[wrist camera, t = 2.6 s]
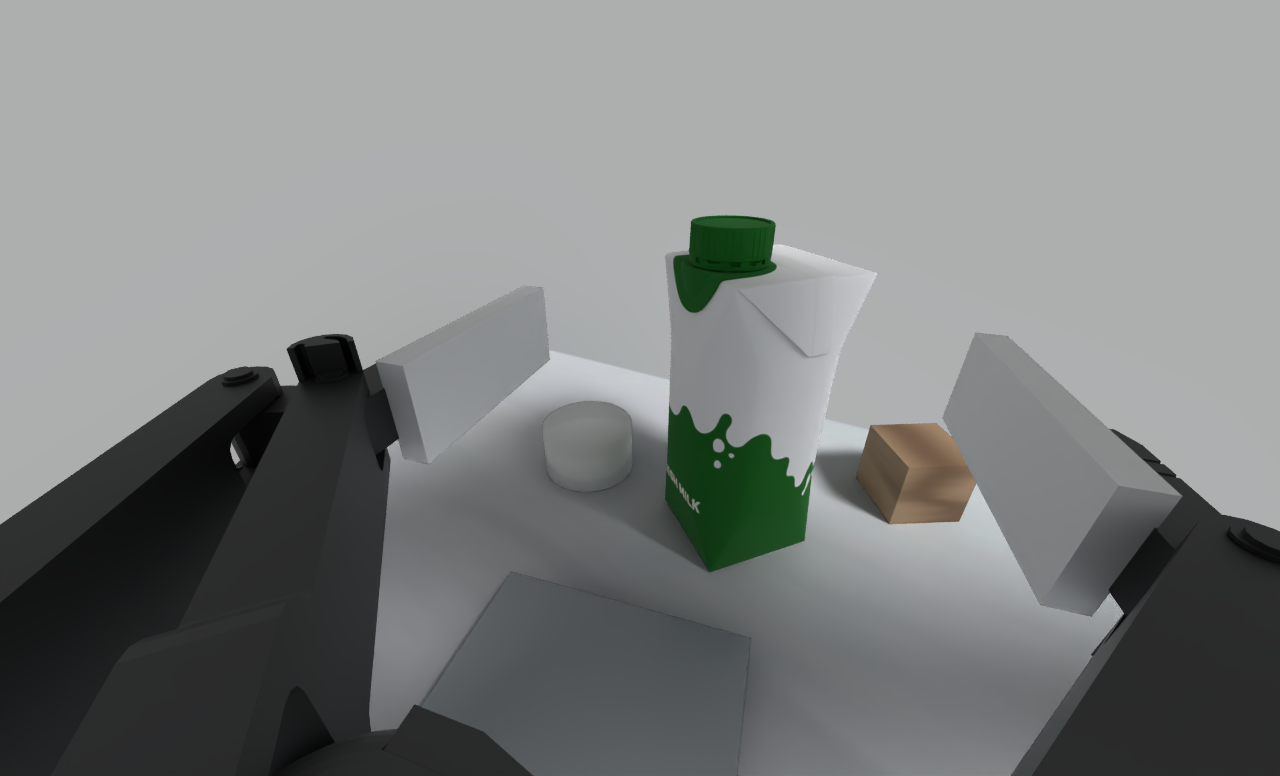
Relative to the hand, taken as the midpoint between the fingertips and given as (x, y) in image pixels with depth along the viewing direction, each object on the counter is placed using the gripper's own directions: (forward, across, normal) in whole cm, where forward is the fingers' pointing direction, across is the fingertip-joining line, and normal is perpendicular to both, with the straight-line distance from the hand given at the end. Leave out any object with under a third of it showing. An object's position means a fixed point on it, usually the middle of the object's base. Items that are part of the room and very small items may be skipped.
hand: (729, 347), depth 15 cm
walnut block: (+17, +13, -17) cm, 27 cm away
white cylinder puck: (+14, -11, -18) cm, 25 cm away
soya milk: (+11, +1, -18) cm, 21 cm away
